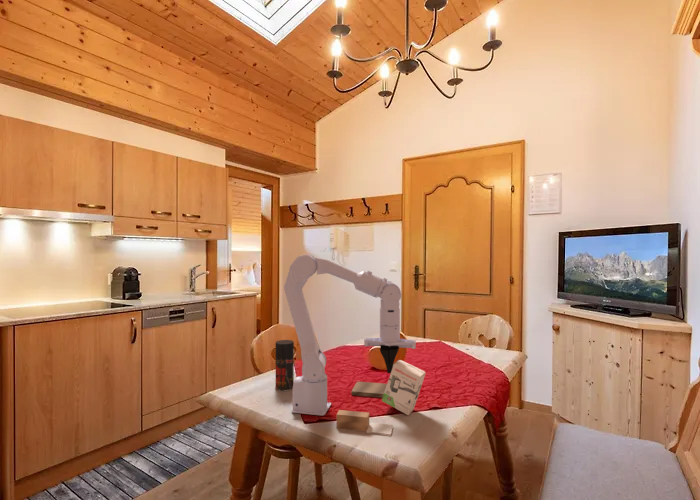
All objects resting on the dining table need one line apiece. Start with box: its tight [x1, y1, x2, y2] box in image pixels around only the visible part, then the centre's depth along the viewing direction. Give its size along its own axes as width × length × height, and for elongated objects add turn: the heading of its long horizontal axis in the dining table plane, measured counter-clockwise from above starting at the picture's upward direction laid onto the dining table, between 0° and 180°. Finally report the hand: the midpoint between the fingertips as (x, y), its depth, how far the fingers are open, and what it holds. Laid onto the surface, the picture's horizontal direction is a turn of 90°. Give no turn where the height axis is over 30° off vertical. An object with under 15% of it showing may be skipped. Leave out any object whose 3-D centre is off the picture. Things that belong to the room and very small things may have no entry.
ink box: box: [381, 359, 427, 416], centre depth 105 cm, size 9×5×12 cm, turn 62°
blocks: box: [336, 409, 394, 437], centre depth 95 cm, size 14×5×4 cm, turn 77°
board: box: [350, 381, 387, 398], centre depth 119 cm, size 18×9×1 cm, turn 77°
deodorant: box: [275, 339, 295, 392], centre depth 123 cm, size 6×6×15 cm
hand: (389, 372), depth 106 cm, fingers closed
